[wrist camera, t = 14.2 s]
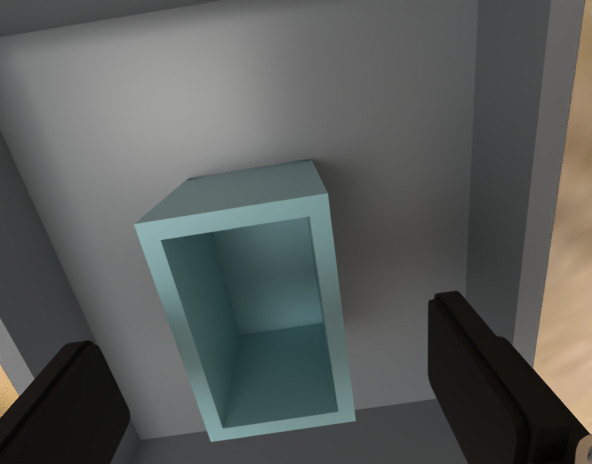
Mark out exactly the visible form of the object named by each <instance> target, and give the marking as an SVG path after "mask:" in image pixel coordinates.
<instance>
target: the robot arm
mask: <svg viewBox="0 0 592 464" xmlns="http://www.w3.org/2000/svg"><path fill="white" fill-rule="evenodd" d="M428 379H429V382H430V385H431V388H432V390H433V392H434V394H435V396H436V398H437V400H438V402H439V404H440V406H441V409H442V411H443V413H444V415H445V417H446V419H447V421H448V423H449V425H450V427H451V429H452V431H453V434H454V436H455V438H456V440H457V442H458V444H459V446H460V448H461V450H462V452H463V454H464V456H465V459H466V461H467V463H468V464H592V434H590V433H589V432H588V431H587V430H586V429H585V427H584V426H583V425H582V424H581V423H580V422H579V421H578V419H577V418H576V417H575V416H574V415H573V414H572V413H571V411H570V410H569V409H568V408H567V407H566V406H565V405H564V403H563V402H562V401H561V400H560V399H559V398H558V397H557V395H556V394H555V393H554V392H553V391H552V390H551V389H550V387H549V386H548V385H547V384H546V383H545V382H544V381H543V380H542V378H541V377H540V376H539V375H538V374H537V373H536V372H535V370H534V369H533V368H532V367H531V366H530V365H529V364H528V362H527V361H526V360H525V359H524V358H523V357H522V356H521V354H520V353H519V352H518V351H517V350H516V349H515V348H514V346H513V345H512V344H511V343H510V342H509V341H508V340H507V339H506V338H504V337H502V336H496V335H495V333H494V332H493V331H492V330H491V329H490V328H489V326H488V325H487V324H486V323H485V322H484V320H483V319H482V318H481V317H480V316H479V314H478V313H477V312H476V311H475V310H474V309H473V307H472V306H471V305H470V304H469V303H468V301H467V300H466V299H465V298H464V297H463V296H462V294H461V293H460V292H459V291H450V292H442V293H436V294H435V296H434V299H431V300H429V301H428ZM129 422H130V410H129V408H128V406H127V404H126V402H125V399H124V397H123V395H122V393H121V391H120V389H119V387H118V385H117V383H116V381H115V378H114V376H113V374H112V372H111V370H110V368H109V366H108V364H107V362H106V360H105V357H104V355H103V353H102V351H101V349H100V347H99V346H98V345H95V344H94V343H93V342H92V341H89V340H86V341H79V342H71V343H67V344H65V345H64V346H63V347H62V348H61V349H60V351H59V352H58V353H57V354H56V355H55V356H54V357H53V359H52V360H51V361H50V362H49V363H48V364H47V365H46V367H45V368H44V369H43V370H42V371H41V372H40V373H39V375H38V376H37V377H36V378H35V379H34V380H33V381H32V383H31V384H30V385H29V386H28V387H27V388H26V389H25V391H24V392H23V393H22V394H21V395H20V396H19V397H18V399H17V400H16V401H15V402H14V403H13V404H12V405H11V407H10V408H9V409H8V410H7V411H6V412H5V413H4V415H3V416H2V417H1V418H0V464H110V463H111V461H112V459H113V457H114V455H115V452H116V450H117V448H118V446H119V444H120V442H121V440H122V438H123V436H124V434H125V431H126V429H127V427H128V425H129Z"/></svg>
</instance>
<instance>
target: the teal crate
mask: <svg viewBox="0 0 592 464" xmlns="http://www.w3.org/2000/svg"><path fill="white" fill-rule="evenodd" d="M134 226H135V229H136V232H137V235H138V238H139V240H140V243H141V246H142V249H143V252H144V254H145V257H146V260H147V263H148V266H149V269H150V271H151V274H152V277H153V280H154V283H155V286H156V288H157V291H158V294H159V297H160V300H161V302H162V305H163V308H164V311H165V314H166V317H167V319H168V322H169V325H170V328H171V331H172V334H173V336H174V339H175V342H176V345H177V348H178V350H179V353H180V356H181V359H182V362H183V365H184V367H185V370H186V373H187V376H188V379H189V382H190V384H191V387H192V390H193V393H194V396H195V399H196V401H197V404H198V407H199V410H200V413H201V415H202V418H203V421H204V424H205V427H206V430H207V432H208V435H209V438H210V441H211V442H214V441H221V440H228V439H235V438H242V437H249V436H256V435H262V434H269V433H276V432H283V431H290V430H297V429H304V428H311V427H318V426H325V425H332V424H339V423H345V422H352V421H356V418H355V410H354V402H353V394H352V386H351V378H350V369H349V361H348V353H347V345H346V337H345V329H344V321H343V313H342V305H341V297H340V289H339V280H338V272H337V264H336V256H335V248H334V240H333V232H332V224H331V216H330V208H329V200H328V193H327V191H326V189H325V187H324V184H323V182H322V180H321V178H320V176H319V174H318V172H317V170H316V168H315V166H314V164H313V161H312V159H305V160H299V161H293V162H287V163H281V164H274V165H268V166H262V167H256V168H250V169H244V170H237V171H231V172H225V173H219V174H213V175H207V176H200V177H194V178H188V179H187V180H186V181H185V182H183V183H182V184H181V185H180V186H179V187H177V188H176V189H175V190H174V191H173V192H172V193H170V194H169V195H168V196H167V197H166V198H164V199H163V200H162V201H161V202H160V203H158V204H157V205H156V206H155V207H154V208H153V209H151V210H150V211H149V212H148V213H147V214H145V215H144V216H143V217H142V218H141V219H139V220H138V221H137V222H136V223H135V224H134Z"/></svg>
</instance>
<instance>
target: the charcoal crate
mask: <svg viewBox="0 0 592 464" xmlns="http://www.w3.org/2000/svg"><path fill="white" fill-rule="evenodd" d="M584 5H585V0H0V365H1V366H2V368H3V370H4V371H5V373H6V375H7V376H8V378H9V380H10V381H11V383H12V385H13V386H14V388H15V390H16V391H17V393H18V395H19V396H20V395H21V394H22V393H23V392H24V391H25V389H26V388H27V387H28V386H29V385H30V384H31V383H32V381H33V380H34V379H35V378H36V377H37V376H38V375H39V373H40V372H41V371H42V370H43V369H44V368H45V367H46V365H47V364H48V363H49V362H50V361H51V360H52V359H53V357H54V356H55V355H56V354H57V353H58V352H59V351H60V349H61V348H62V347H63V346H64V345H65V344H67V343H71V342H79V341H86V340H89V341H92V342H93V343H94V344H95V345H98V346H99V347H100V349H101V351H102V353H103V355H104V357H105V360H106V362H107V364H108V366H109V368H110V370H111V372H112V374H113V376H114V378H115V381H116V383H117V385H118V387H119V389H120V391H121V393H122V395H123V397H124V399H125V402H126V404H127V406H128V408H129V410H130V422H129V425H128V427H127V429H126V431H125V434H124V436H123V438H122V440H121V442H120V444H119V446H118V448H117V450H116V452H115V455H114V457H113V459H112V461H111V463H110V464H468V463H467V461H466V459H465V456H464V454H463V452H462V450H461V448H460V446H459V444H458V442H457V440H456V438H455V436H454V434H453V431H452V429H451V427H450V425H449V423H448V421H447V419H446V417H445V415H444V413H443V411H442V409H441V406H440V404H439V402H438V400H437V398H436V396H435V394H434V392H433V390H432V388H431V385H430V382H429V379H428V301H429V300H431V299H434V296H435V294H436V293H442V292H450V291H459V292H460V293H461V294H462V296H463V297H464V298H465V299H466V300H467V301H468V303H469V304H470V305H471V306H472V307H473V309H474V310H475V311H476V312H477V313H478V314H479V316H480V317H481V318H482V319H483V320H484V322H485V323H486V324H487V325H488V326H489V328H490V329H491V330H492V331H493V332H494V333H495V335H496V336H502V337H504V338H506V339H507V340H508V341H509V342H510V343H511V344H512V345H513V346H514V348H515V349H516V350H517V351H518V352H519V353H520V354H521V356H522V357H523V358H524V359H525V360H526V361H527V362H528V364H529V365H530V366H531V367H532V368H533V364H534V357H535V350H536V343H537V336H538V329H539V322H540V315H541V308H542V301H543V294H544V287H545V280H546V273H547V266H548V259H549V252H550V245H551V237H552V230H553V223H554V216H555V209H556V202H557V195H558V188H559V181H560V174H561V167H562V160H563V153H564V146H565V139H566V132H567V125H568V118H569V111H570V104H571V97H572V90H573V83H574V76H575V69H576V62H577V55H578V48H579V41H580V34H581V27H582V19H583V12H584ZM305 159H312V161H313V164H314V166H315V168H316V170H317V172H318V174H319V176H320V178H321V180H322V182H323V184H324V187H325V189H326V191H327V193H328V200H329V208H330V216H331V224H332V232H333V240H334V248H335V256H336V264H337V272H338V280H339V289H340V297H341V305H342V313H343V321H344V329H345V337H346V345H347V353H348V361H349V369H350V378H351V386H352V394H353V402H354V410H355V418H356V421H352V422H345V423H339V424H332V425H325V426H318V427H311V428H304V429H297V430H290V431H283V432H276V433H269V434H262V435H256V436H249V437H242V438H235V439H228V440H221V441H214V442H211V441H210V438H209V435H208V432H207V430H206V427H205V424H204V421H203V418H202V415H201V413H200V410H199V407H198V404H197V401H196V399H195V396H194V393H193V390H192V387H191V384H190V382H189V379H188V376H187V373H186V370H185V367H184V365H183V362H182V359H181V356H180V353H179V350H178V348H177V345H176V342H175V339H174V336H173V334H172V331H171V328H170V325H169V322H168V319H167V317H166V314H165V311H164V308H163V305H162V302H161V300H160V297H159V294H158V291H157V288H156V286H155V283H154V280H153V277H152V274H151V271H150V269H149V266H148V263H147V260H146V257H145V254H144V252H143V249H142V246H141V243H140V240H139V238H138V235H137V232H136V229H135V226H134V224H135V223H136V222H137V221H138V220H139V219H141V218H142V217H143V216H144V215H145V214H147V213H148V212H149V211H150V210H151V209H153V208H154V207H155V206H156V205H157V204H158V203H160V202H161V201H162V200H163V199H164V198H166V197H167V196H168V195H169V194H170V193H172V192H173V191H174V190H175V189H176V188H177V187H179V186H180V185H181V184H182V183H183V182H185V181H186V180H187V179H188V178H194V177H200V176H207V175H213V174H219V173H225V172H231V171H237V170H244V169H250V168H256V167H262V166H268V165H274V164H281V163H287V162H293V161H299V160H305Z"/></svg>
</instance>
